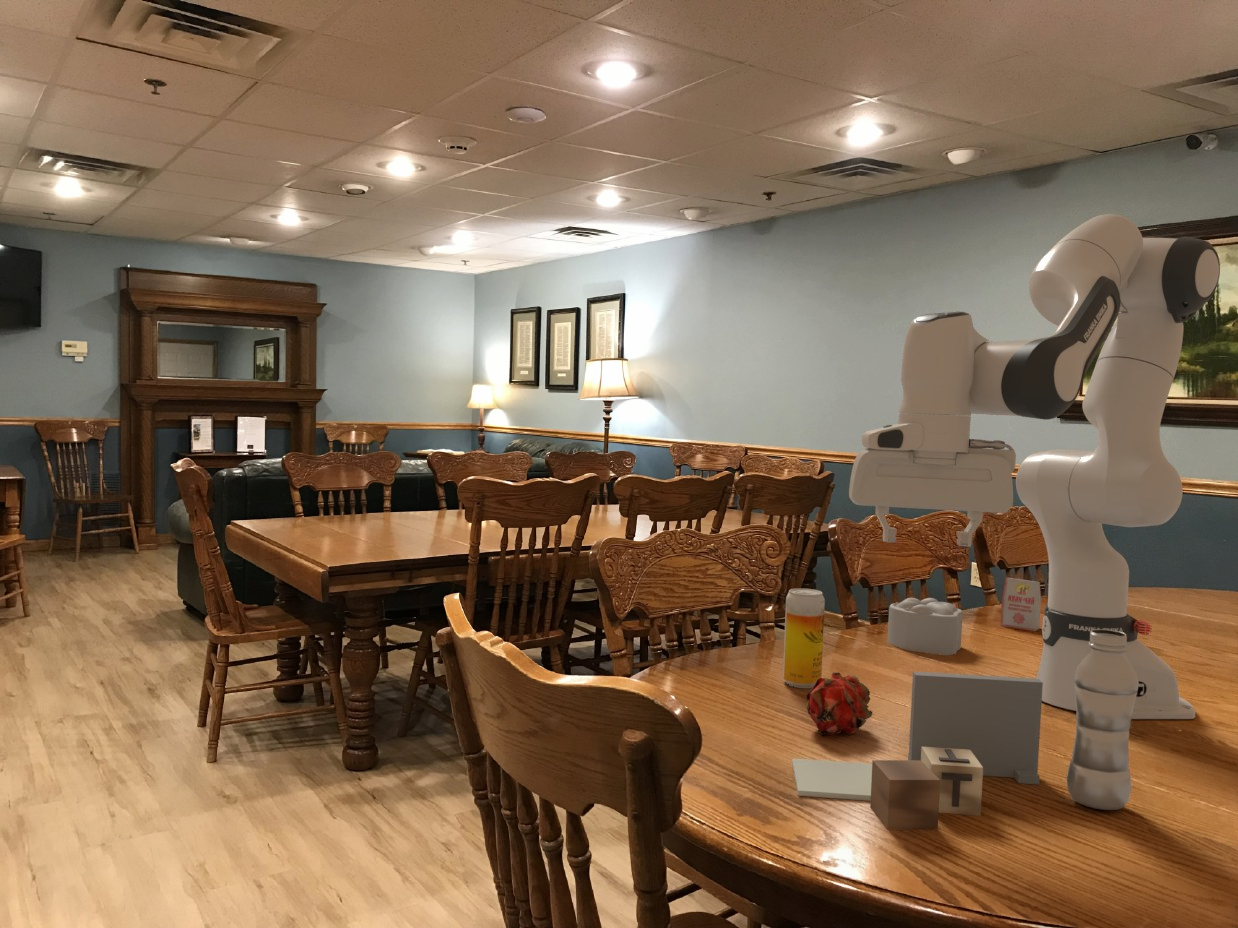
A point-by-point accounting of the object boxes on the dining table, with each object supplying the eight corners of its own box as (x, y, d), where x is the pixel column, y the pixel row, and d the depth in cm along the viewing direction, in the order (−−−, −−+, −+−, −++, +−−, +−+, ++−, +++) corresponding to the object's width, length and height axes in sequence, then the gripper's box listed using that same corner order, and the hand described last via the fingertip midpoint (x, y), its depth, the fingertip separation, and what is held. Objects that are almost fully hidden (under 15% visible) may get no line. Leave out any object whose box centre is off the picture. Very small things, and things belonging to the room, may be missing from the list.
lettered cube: (967, 795, 110) (970, 747, 110) (981, 816, 105) (983, 766, 104) (919, 792, 111) (921, 744, 111) (929, 813, 105) (932, 762, 105)
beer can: (821, 690, 149) (825, 596, 148) (782, 687, 151) (785, 593, 150) (820, 679, 155) (824, 589, 154) (783, 676, 156) (786, 586, 155)
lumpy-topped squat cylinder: (953, 657, 172) (955, 610, 172) (881, 646, 179) (883, 601, 178) (963, 645, 181) (965, 600, 181) (894, 635, 188) (896, 592, 187)
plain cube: (918, 808, 106) (920, 760, 106) (937, 830, 101) (940, 779, 101) (870, 808, 106) (872, 760, 106) (887, 830, 101) (889, 779, 100)
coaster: (873, 768, 118) (874, 763, 117) (887, 801, 108) (887, 796, 108) (792, 762, 119) (792, 758, 119) (798, 795, 109) (798, 790, 109)
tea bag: (1005, 622, 202) (1008, 576, 201) (1039, 628, 198) (1042, 580, 197) (1000, 625, 199) (1003, 578, 198) (1034, 631, 195) (1037, 583, 194)
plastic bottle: (1053, 793, 111) (1063, 625, 110) (1108, 793, 112) (1119, 626, 111) (1085, 817, 105) (1096, 639, 104) (1143, 817, 106) (1155, 640, 104)
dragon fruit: (856, 729, 136) (828, 767, 126) (810, 688, 139) (779, 722, 129) (891, 691, 132) (865, 727, 122) (843, 649, 135) (814, 681, 125)
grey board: (1028, 768, 119) (1033, 674, 118) (1041, 784, 114) (1047, 686, 113) (905, 760, 121) (910, 667, 120) (913, 775, 116) (918, 678, 115)
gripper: (1009, 440, 124) (1002, 545, 125) (850, 433, 127) (844, 535, 128) (1024, 441, 118) (1016, 551, 119) (856, 434, 121) (850, 542, 121)
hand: (926, 543), depth 123 cm, fingers open, 8 cm apart
